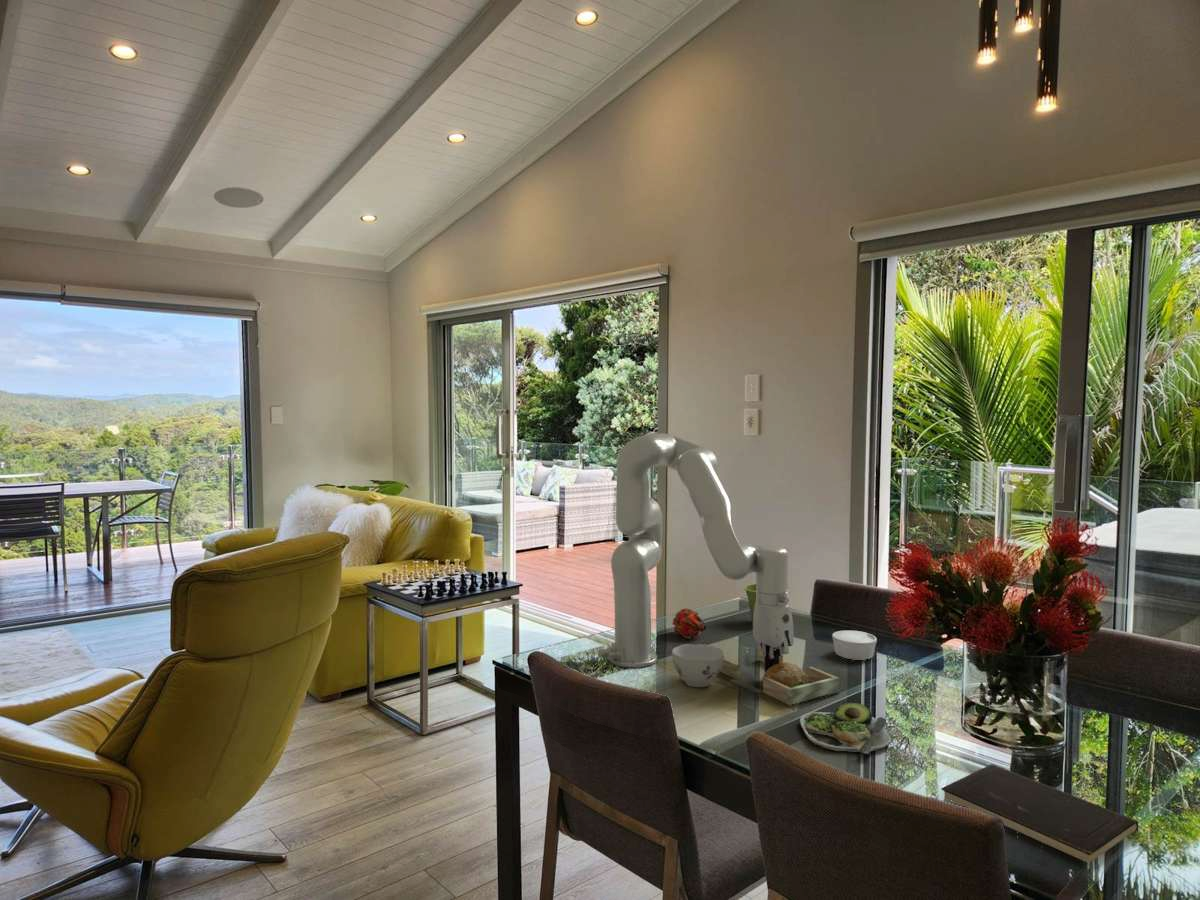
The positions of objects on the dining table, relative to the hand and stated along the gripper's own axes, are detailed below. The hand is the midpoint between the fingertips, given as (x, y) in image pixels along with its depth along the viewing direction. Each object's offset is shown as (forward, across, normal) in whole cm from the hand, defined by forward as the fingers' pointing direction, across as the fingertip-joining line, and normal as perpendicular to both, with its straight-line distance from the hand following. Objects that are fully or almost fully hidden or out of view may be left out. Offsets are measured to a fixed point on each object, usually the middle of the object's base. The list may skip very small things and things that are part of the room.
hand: (771, 672), depth 185 cm
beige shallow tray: (+2, -1, 0) cm, 2 cm away
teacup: (+2, +8, +17) cm, 19 cm away
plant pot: (+2, +38, -30) cm, 48 cm away
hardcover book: (+3, -68, +4) cm, 68 cm away
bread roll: (+2, -6, +2) cm, 7 cm away
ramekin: (+2, +3, -31) cm, 31 cm away
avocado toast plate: (+2, -31, +8) cm, 32 cm away
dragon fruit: (+2, +39, -3) cm, 39 cm away
